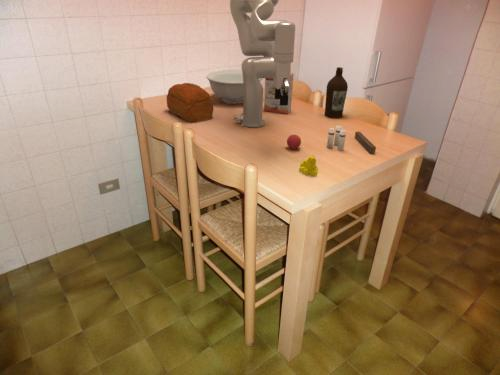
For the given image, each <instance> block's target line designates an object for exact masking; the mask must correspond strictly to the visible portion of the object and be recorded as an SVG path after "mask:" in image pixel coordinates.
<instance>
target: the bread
mask: <svg viewBox="0 0 500 375" xmlns="http://www.w3.org/2000/svg"><path fill="white" fill-rule="evenodd" d="M166 105H167V106H166V107H167V108H168V110H169V111H170V112H171V113H172V114H175V115H177V116H179V117H180V118H182V119H183V120H185V121H187V122H190V123H200V122H204V121H208V120H209V121H210V120H211V119H213V112H214V102H213V100H212V97H211V95H210V93H209V92H208V91H206V90H205V89H203V88H202V87H201V86H199V85H198V84H195V83H190V82H184V83H176V84H173V86H172V85H171V87H169V88H168V91H167V95H166Z"/></svg>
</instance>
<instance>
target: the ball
mask: <svg viewBox="0 0 500 375" xmlns="http://www.w3.org/2000/svg"><path fill="white" fill-rule="evenodd" d="M286 144H287V147H289V149H293V150H294V149H298V148H300V146H301V144H302V139H301V137H300V136H299V135H298V134H291V135H289V136H288V138H287V139H286Z"/></svg>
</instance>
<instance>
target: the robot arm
mask: <svg viewBox="0 0 500 375" xmlns="http://www.w3.org/2000/svg"><path fill="white" fill-rule="evenodd" d="M279 1H280V0H229V7H230V14H231V17H232V20H233V22H234V24H235V26H236V29H237V34H238V40H239V46H240V50H241V53H242V55H243V56H245V57H247V58H245V59H244V60H243V61H242V63H241V70H242V75H243V103H242V105H243V107H242V113H241V114H239V115H233V119H234V120H236V121H239V125H241V126H243V127H246V128H261V127H263V126H265V125H266V120H264V119H263V109H264V105H263V104H264V103H263V102H264V101H263V100H264V87H263V85H262V83H261V81H260V82H259V80H258V79H261V78H262V79H265V78H272V77H273V85H274V86H275V99H280V106H287V105H288V95H289V93H288V92H289V90H288V89H289V87H290V74H291V73H292V71H291V68H292V67H291V63H293V62H294V56H295V55H294V52H295V42H296V40H295V39H296V24H295V23H294V22H290V21H288V20H285V19H269V18H271V17H272V15H273V13H274V11H275V7H276V5H278V3H279ZM248 13H249V14H250V15H248Z"/></svg>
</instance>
